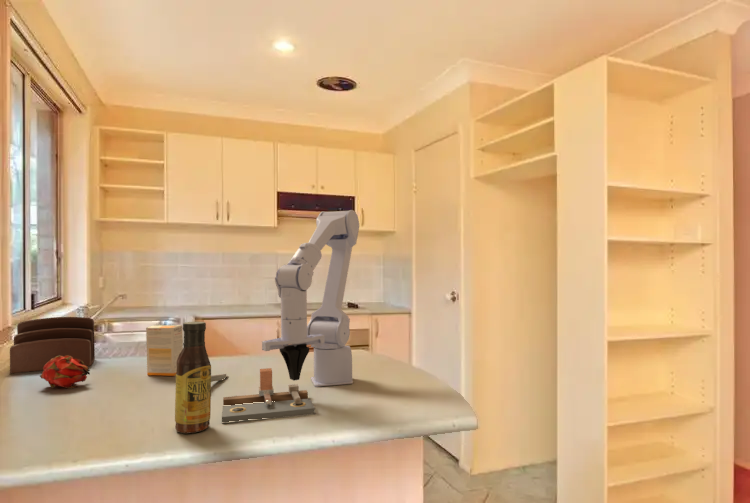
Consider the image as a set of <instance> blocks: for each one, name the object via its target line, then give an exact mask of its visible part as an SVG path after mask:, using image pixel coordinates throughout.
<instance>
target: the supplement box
mask: <svg viewBox="0 0 750 503" xmlns="http://www.w3.org/2000/svg"><path fill="white" fill-rule="evenodd" d="M145 330H146V332H145V336H146V365H147V366H146V367H147V368H146V373H147V376H162V377H163V376H164V377H165V376H168V377H169V376H170V377H176V372H177V359H178V356H179V354H180V352H181V351H182V350H183V348H184V345H183V343H184V337H183V324H178V325H177V324H155V325H151V326H148V327H146V328H145Z"/></svg>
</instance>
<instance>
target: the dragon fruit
mask: <svg viewBox="0 0 750 503" xmlns="http://www.w3.org/2000/svg"><path fill="white" fill-rule="evenodd" d="M81 364H82V365H81ZM43 369H44V370H42V371H41V374H40V375H39V377H40V378H41V379H43V380H45V381H46V382H48V385H49V386H50V388H51V389H53V388H57V387H62V388H66V389H73V388H76V387H78V385H76V383H81V382H82V383H83V382H85V381H86V380H87V378H88V376H87V375H90V372H91V370H90V369H89V366H85V365H84V362H83V361H81V360H80V359H73V357H71V356H69V355H66V356H64V357H63V356H61V355H59V356H56V357H55V358H52V359H51V360H50V361H49V362H47V363H46V364H45V366H44V367H43ZM74 384H75V385H74Z"/></svg>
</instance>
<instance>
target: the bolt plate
mask: <svg viewBox="0 0 750 503" xmlns="http://www.w3.org/2000/svg"><path fill="white" fill-rule="evenodd" d="M221 411H222V412H221V423H222V422H229V421H239V420H248V419H260V420H263V419H262V418H271V419H277V418H278V419H279V418H289V417H299V416H311V415H315V414H316V407H315V405H314V404H313V401H312V400H311V398H309V397H308V399H301V404H295V402H294V400H286V401H275V402H272V405H270V406H267V405H265V402H264V403H253V404H242V405H231V406H222V410H221Z"/></svg>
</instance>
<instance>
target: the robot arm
mask: <svg viewBox="0 0 750 503" xmlns="http://www.w3.org/2000/svg"><path fill="white" fill-rule="evenodd" d="M315 220H316V222H315V223H316V228H315V230H314V232H313V233H312V235H311V237H310V238H309V241H308V242H303V243H301V244H300V245H299V247H298V248H297V250H296V251H295V253H294V254H293V256H292V257H291V259H289V261H288V262H287V263H286V264H283V265H281V266H280V267H279V268H278V269H277V271H276V274H275V276H274V282H275V285H276V288H277V291H278V292H277V295H278V297H279V298H280V334H281V335H280V336H281V337H278V338H272V339H268V340H262V341H261V350H262V351H264V352H270V351H273V350H279V353H280V354H281V356H282V358H283V360H284V362H285V364H286V368H287V372H288V375H289V379H290V380H292V381H298V380H300V378H301V372H302V369H303V366H304V363H305V361H306V358H307V357H308V354H310V347H311V348H313V376H311V377H310V380H311V382H312V383H313V385H314V387H327V386H336V385H337V386H338V385H350V384H353V383H354V381H353V356H352V355H353V354H352V349H351V346H350V345H347V343H348V341H349V339H350V333H351V332H350V331H351V330H350V322H351V321H350V320H351V319H350V318H349V316H348V314H346V313H345V311H344V310H343V309H342V307H343V302H344V296H345V292H346V286H347V285H346V284H347V279H348V272H349V269H350V264H351V262H350V261H351V256H352V250H353V247H354V246H356V245H357V241H358V236H359V232H360V231H359V230H360V220H359V217H358V214H357V212H356V211H355V210H353V209H350V210H339V211H336V210H335V211H321V212H319V214H318V216H317V217H316V219H315ZM325 246H328V247H330V248H331V255H330V256H331V257H330V261H329V265H328V266H329V267H328V271H327V276H326V282H325V286H324V287H325V288H324V292H323V297H322V302H321V306H320V307H319V308H317V309H316V310H314V311H313V312H312V313H311V315H310V320H309V321H308V312H307V311H308V300H307V299H308V298H307V297H308V296H307V292H308V291H307V290H308V289H310V287H311V286H312V283H313V282H312V281H313V276H314V270H315V269H316V267H317V265H318V264H319V262H320V261H321V259H322V258H323V256H322V250H323V249H324V247H325ZM309 345H310V346H309Z"/></svg>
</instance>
